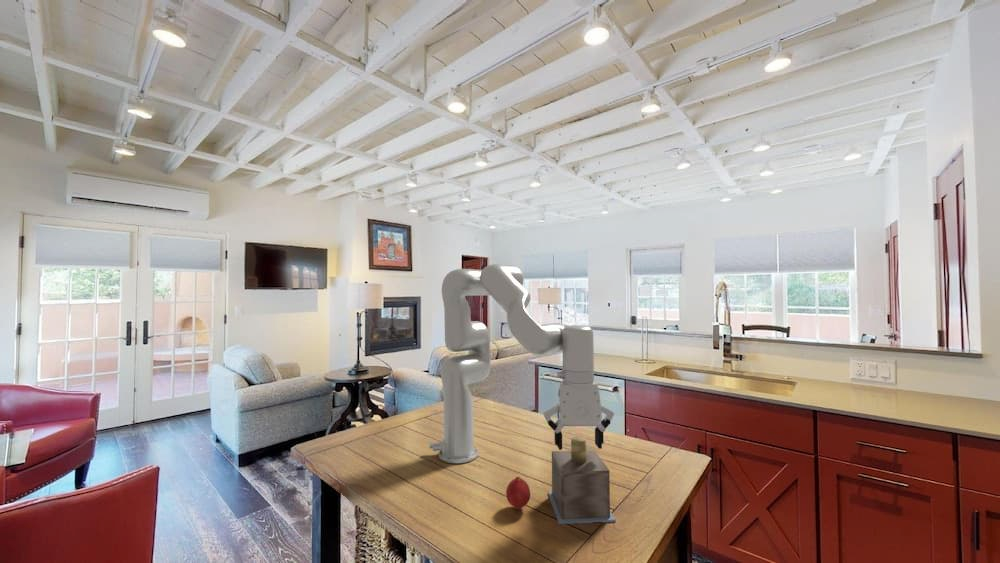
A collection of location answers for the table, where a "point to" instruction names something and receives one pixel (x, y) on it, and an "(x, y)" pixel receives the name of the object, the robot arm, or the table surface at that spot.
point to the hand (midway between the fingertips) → (579, 447)
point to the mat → (572, 521)
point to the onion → (518, 493)
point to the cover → (580, 482)
